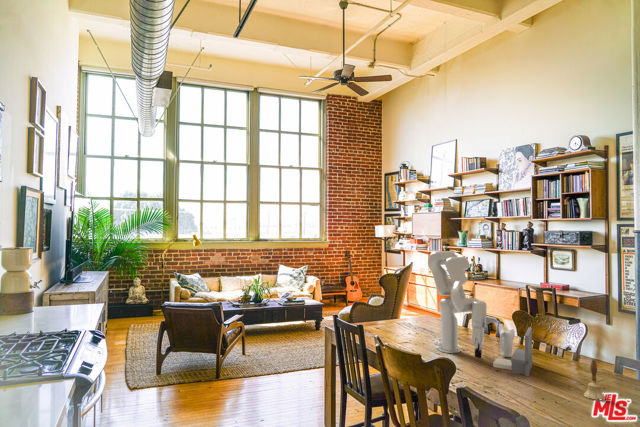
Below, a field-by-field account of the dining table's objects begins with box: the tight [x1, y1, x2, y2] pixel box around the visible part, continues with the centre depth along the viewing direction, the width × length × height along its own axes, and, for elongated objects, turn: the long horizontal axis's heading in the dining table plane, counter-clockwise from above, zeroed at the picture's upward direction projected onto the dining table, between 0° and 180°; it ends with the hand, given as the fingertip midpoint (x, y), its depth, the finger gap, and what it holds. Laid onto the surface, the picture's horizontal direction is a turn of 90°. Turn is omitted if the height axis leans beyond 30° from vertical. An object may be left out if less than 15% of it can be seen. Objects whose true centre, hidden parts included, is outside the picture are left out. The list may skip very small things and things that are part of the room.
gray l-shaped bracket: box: [510, 326, 533, 378], centre depth 222 cm, size 8×21×20 cm, turn 149°
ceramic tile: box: [492, 357, 512, 371], centre depth 226 cm, size 16×10×2 cm, turn 59°
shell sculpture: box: [498, 323, 516, 358], centre depth 244 cm, size 8×8×18 cm
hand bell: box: [583, 359, 606, 400], centre depth 185 cm, size 8×8×16 cm
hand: (478, 357), depth 233 cm, fingers closed
